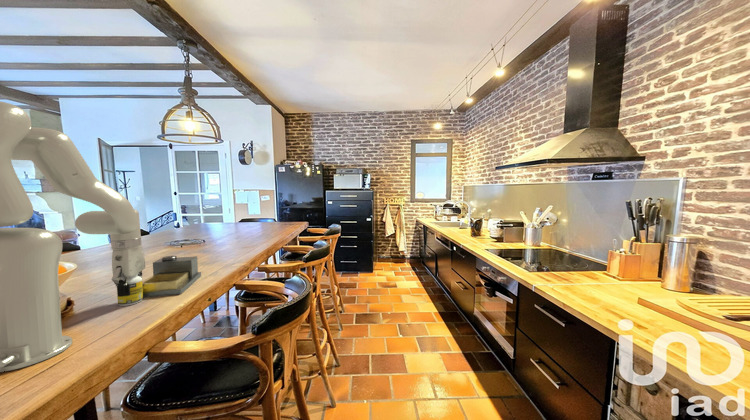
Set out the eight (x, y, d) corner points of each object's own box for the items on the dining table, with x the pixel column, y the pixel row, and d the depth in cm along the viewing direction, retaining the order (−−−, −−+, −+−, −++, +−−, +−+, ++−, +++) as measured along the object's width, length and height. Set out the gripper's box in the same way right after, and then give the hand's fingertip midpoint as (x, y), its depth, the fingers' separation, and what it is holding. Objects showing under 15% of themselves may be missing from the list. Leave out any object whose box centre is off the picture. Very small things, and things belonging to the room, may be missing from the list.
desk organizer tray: (181, 294, 96) (180, 266, 95) (130, 299, 91) (128, 270, 90) (201, 276, 117) (200, 253, 116) (160, 279, 112) (159, 255, 111)
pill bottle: (119, 308, 84) (117, 275, 83) (116, 303, 87) (114, 271, 87) (144, 302, 89) (143, 271, 88) (141, 297, 93) (139, 267, 92)
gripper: (124, 249, 79) (128, 301, 81) (152, 237, 95) (156, 281, 97) (94, 250, 77) (99, 304, 79) (128, 238, 93) (132, 283, 95)
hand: (130, 290), depth 88 cm, fingers closed on pill bottle, 6 cm apart
